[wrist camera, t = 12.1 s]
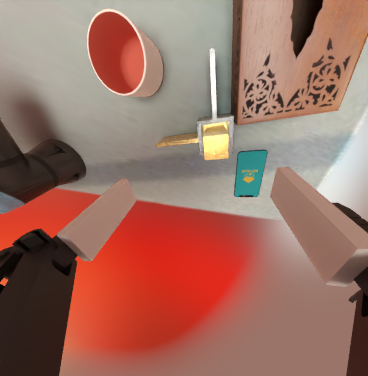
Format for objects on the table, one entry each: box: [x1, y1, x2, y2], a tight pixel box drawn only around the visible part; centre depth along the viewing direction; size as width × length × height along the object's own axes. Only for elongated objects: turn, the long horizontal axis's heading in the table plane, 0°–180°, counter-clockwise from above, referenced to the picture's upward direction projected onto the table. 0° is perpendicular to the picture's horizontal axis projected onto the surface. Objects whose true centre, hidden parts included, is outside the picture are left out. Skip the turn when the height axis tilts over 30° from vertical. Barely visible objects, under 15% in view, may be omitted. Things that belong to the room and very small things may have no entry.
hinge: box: [156, 48, 234, 156], centre depth 29 cm, size 17×17×7 cm
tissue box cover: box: [231, 0, 368, 125], centre depth 19 cm, size 26×14×10 cm, turn 10°
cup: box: [87, 9, 163, 97], centre depth 25 cm, size 10×10×10 cm
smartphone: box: [234, 150, 267, 197], centre depth 38 cm, size 7×1×15 cm
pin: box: [203, 124, 229, 160], centre depth 26 cm, size 4×4×11 cm
